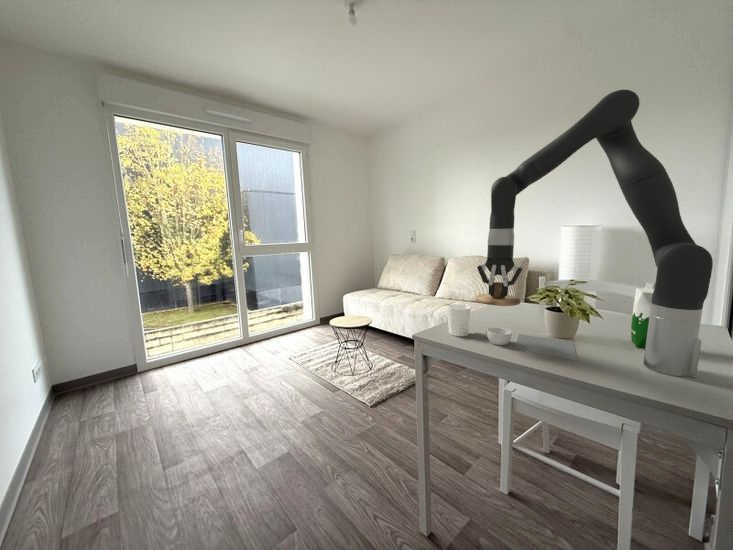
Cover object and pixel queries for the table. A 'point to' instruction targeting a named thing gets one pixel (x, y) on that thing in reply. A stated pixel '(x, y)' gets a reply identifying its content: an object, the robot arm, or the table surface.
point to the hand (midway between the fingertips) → (497, 296)
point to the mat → (546, 346)
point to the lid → (498, 297)
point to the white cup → (458, 319)
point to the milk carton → (641, 316)
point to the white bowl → (498, 335)
